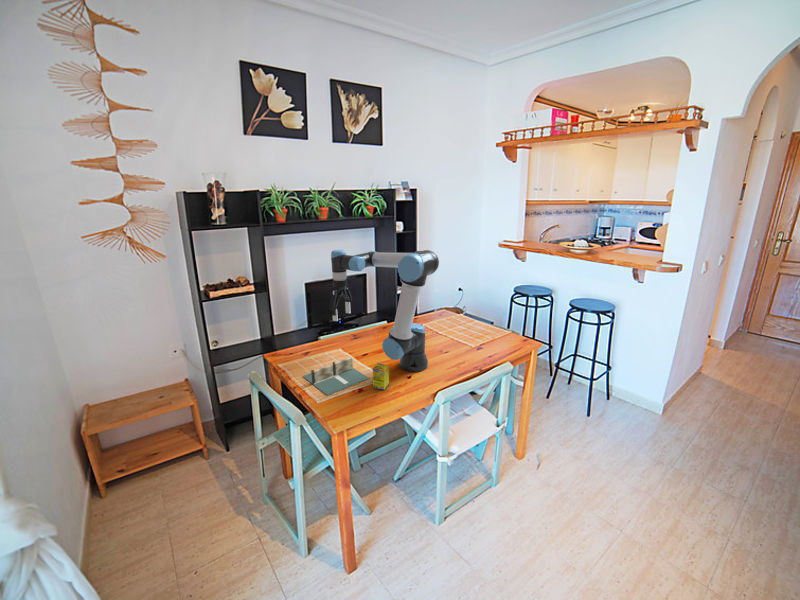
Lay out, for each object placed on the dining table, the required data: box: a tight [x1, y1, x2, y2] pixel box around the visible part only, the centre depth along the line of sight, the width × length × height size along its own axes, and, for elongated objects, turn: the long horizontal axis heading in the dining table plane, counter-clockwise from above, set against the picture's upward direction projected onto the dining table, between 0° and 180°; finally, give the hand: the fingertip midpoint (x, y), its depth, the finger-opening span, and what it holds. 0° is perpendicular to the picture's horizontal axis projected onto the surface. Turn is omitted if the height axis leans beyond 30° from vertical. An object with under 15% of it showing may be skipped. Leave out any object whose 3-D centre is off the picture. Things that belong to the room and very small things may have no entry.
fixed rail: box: [310, 364, 333, 385], centre depth 184 cm, size 11×2×7 cm, turn 131°
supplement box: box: [372, 362, 390, 392], centre depth 178 cm, size 6×6×11 cm
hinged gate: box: [332, 357, 354, 375], centre depth 192 cm, size 11×2×7 cm, turn 131°
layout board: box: [302, 364, 370, 396], centre depth 188 cm, size 24×24×1 cm
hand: (341, 316), depth 205 cm, fingers open, 13 cm apart
